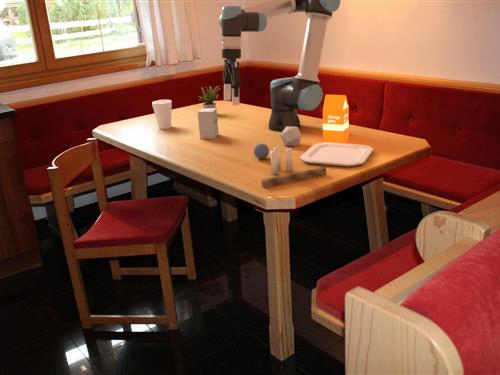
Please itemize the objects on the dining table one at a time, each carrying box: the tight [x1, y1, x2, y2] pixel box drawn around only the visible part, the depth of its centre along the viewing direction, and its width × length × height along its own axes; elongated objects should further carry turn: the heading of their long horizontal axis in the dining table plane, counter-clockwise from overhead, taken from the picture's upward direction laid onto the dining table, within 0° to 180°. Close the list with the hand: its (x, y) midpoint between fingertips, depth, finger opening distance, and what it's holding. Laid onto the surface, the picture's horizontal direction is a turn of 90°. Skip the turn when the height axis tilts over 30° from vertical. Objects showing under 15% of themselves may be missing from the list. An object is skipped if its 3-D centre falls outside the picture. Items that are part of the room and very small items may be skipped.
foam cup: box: [151, 99, 173, 130], centre depth 262 cm, size 10×9×13 cm
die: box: [280, 127, 303, 147], centre depth 221 cm, size 8×9×10 cm
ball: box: [253, 143, 270, 160], centre depth 206 cm, size 6×6×6 cm
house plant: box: [198, 85, 221, 109], centre depth 280 cm, size 14×14×16 cm
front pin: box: [273, 145, 282, 171], centre depth 193 cm, size 2×2×8 cm
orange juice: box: [322, 94, 350, 144], centre depth 219 cm, size 8×9×20 cm
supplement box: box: [197, 107, 219, 140], centre depth 240 cm, size 7×7×13 cm
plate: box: [299, 142, 375, 168], centre depth 204 cm, size 25×25×2 cm
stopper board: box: [260, 166, 327, 188], centre depth 182 cm, size 24×2×2 cm, turn 112°
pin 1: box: [269, 150, 279, 176], centre depth 188 cm, size 2×2×8 cm
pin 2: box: [285, 147, 294, 173], centre depth 190 cm, size 2×2×8 cm
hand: (231, 102), depth 210 cm, fingers open, 13 cm apart
